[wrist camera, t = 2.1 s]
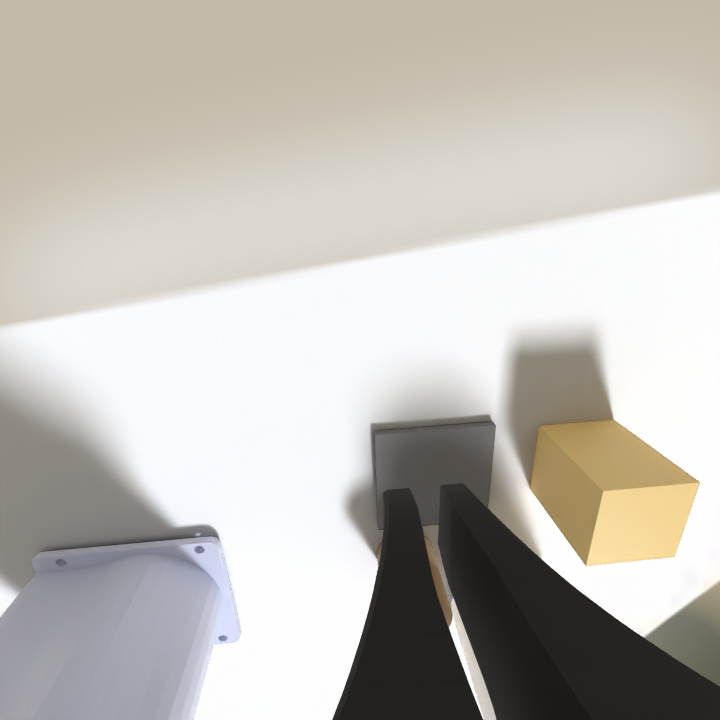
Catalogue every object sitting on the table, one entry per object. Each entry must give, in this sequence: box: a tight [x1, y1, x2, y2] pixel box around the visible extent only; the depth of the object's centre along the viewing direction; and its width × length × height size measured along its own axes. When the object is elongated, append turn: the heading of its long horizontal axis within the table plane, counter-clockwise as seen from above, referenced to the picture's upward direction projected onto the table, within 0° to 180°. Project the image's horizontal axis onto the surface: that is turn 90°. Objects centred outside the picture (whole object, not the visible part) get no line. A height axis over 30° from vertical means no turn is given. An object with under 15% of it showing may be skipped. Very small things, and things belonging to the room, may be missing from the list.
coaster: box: [374, 421, 496, 530], centre depth 20 cm, size 6×6×1 cm
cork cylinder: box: [377, 536, 452, 627], centre depth 20 cm, size 3×3×4 cm
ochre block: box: [530, 420, 700, 566], centre depth 18 cm, size 4×4×5 cm
